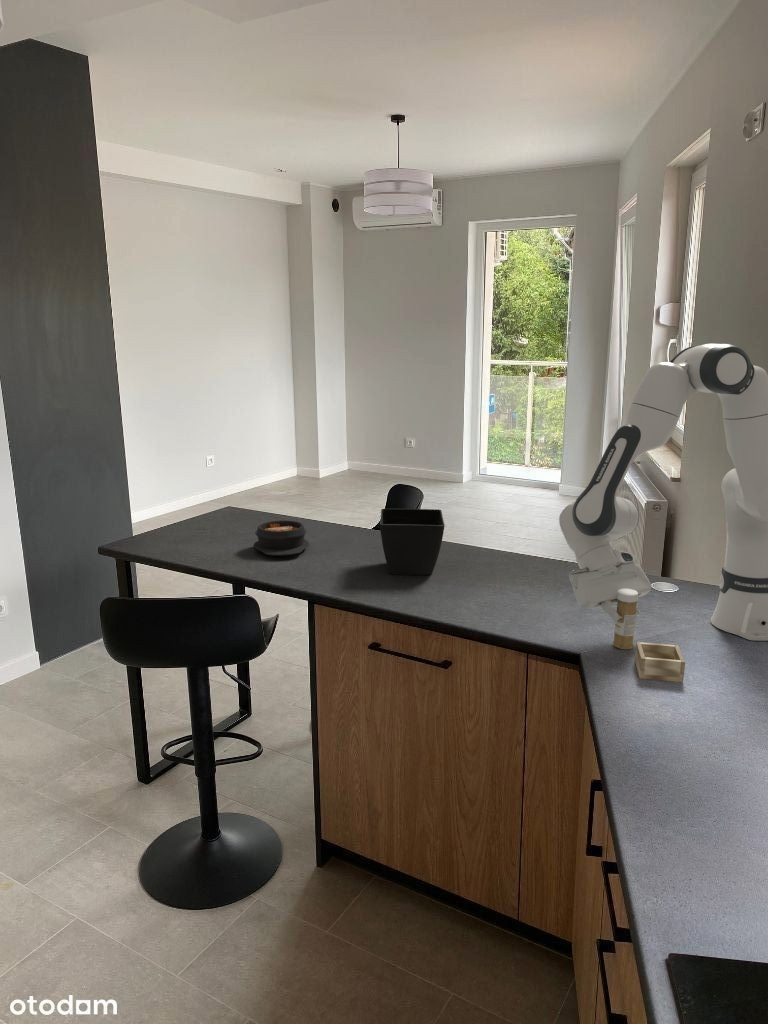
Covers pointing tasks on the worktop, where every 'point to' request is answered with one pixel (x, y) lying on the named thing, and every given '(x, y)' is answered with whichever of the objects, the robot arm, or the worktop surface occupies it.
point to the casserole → (281, 538)
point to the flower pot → (411, 539)
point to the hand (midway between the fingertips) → (627, 617)
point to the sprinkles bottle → (625, 618)
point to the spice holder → (659, 662)
